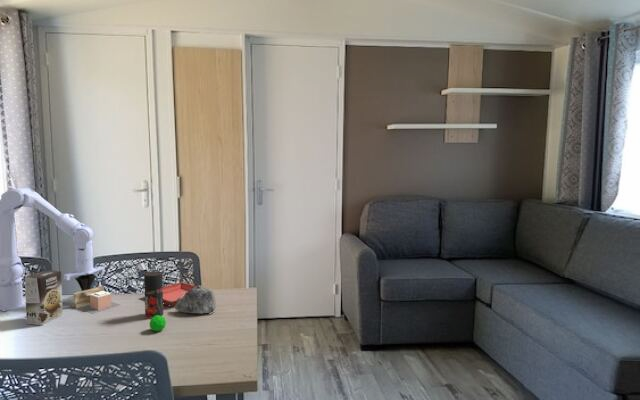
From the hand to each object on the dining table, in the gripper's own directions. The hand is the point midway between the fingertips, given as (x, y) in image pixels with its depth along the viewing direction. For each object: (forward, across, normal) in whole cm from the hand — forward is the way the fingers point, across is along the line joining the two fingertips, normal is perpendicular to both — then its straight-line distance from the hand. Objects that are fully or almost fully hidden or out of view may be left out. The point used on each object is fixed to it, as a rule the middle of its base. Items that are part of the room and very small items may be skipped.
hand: (85, 294), depth 165 cm
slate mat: (+3, 0, -1) cm, 3 cm away
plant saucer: (+4, +23, -23) cm, 33 cm away
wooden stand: (+3, 0, -3) cm, 4 cm away
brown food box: (+4, -17, -5) cm, 18 cm away
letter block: (-2, 0, -9) cm, 10 cm away
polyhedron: (+4, -2, -43) cm, 44 cm away
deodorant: (+4, +6, -31) cm, 32 cm away
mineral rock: (+4, +17, -41) cm, 45 cm away
